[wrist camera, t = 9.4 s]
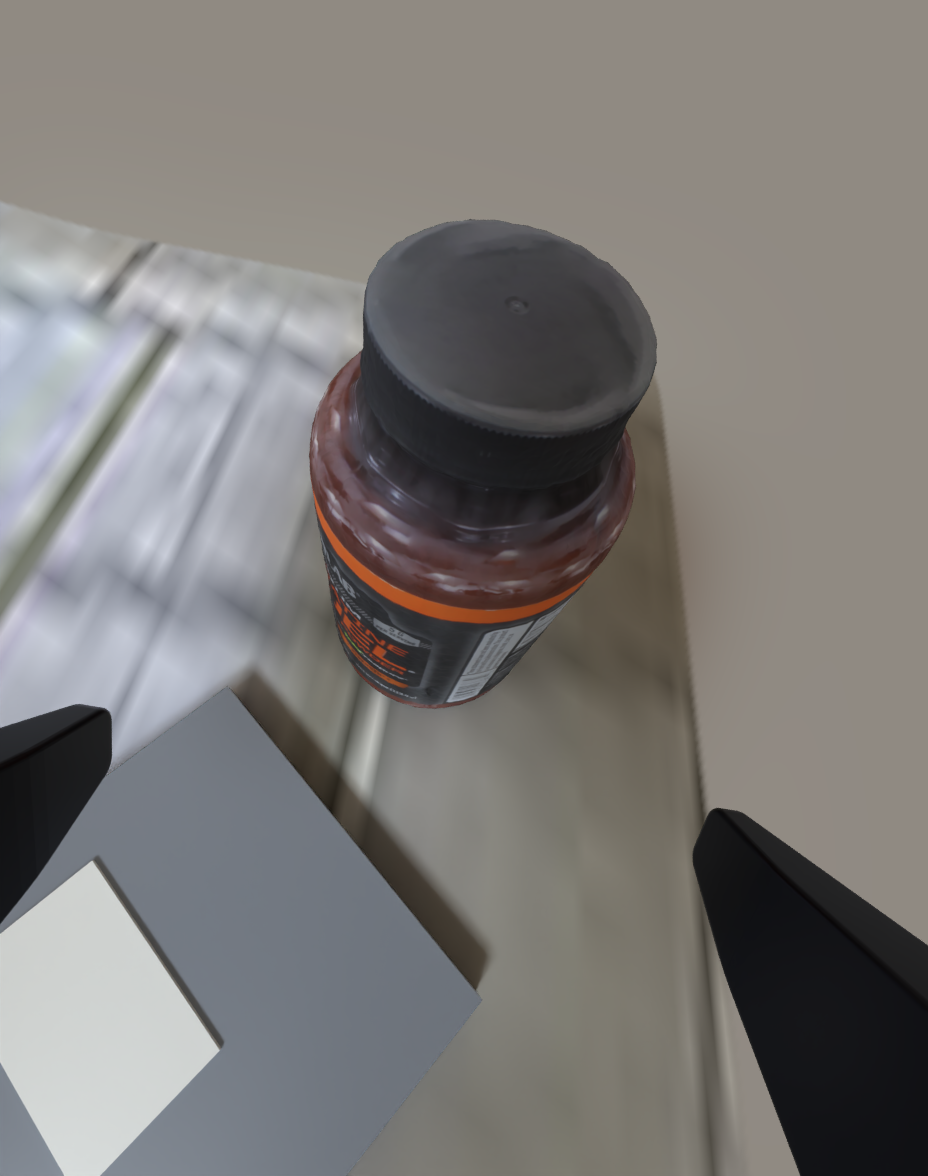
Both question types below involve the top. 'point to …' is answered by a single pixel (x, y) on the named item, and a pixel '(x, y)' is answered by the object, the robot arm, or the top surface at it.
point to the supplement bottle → (475, 452)
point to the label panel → (212, 976)
